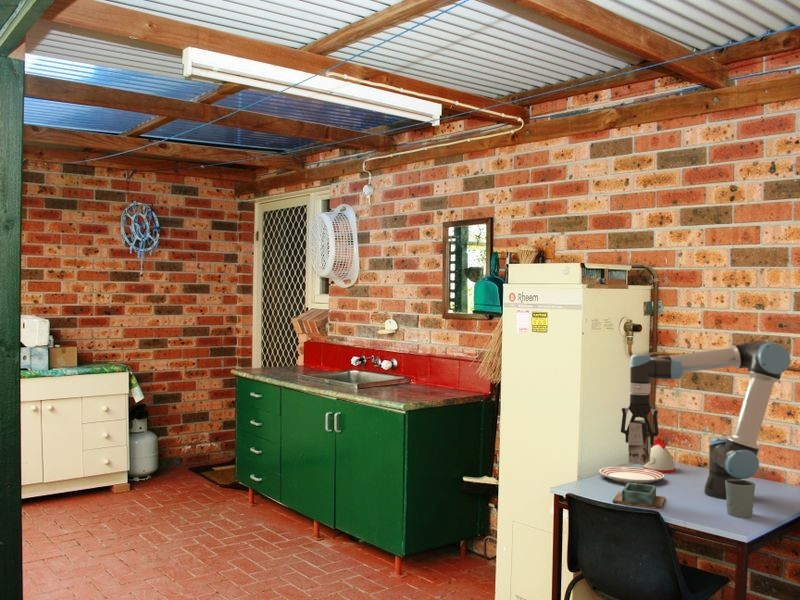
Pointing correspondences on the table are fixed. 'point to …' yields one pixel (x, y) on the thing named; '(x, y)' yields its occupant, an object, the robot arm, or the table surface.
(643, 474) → the dinner plate
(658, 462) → the kitchen timer
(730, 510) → the grey green cup
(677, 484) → the table surface
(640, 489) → the holder tray
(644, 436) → the coffee box
